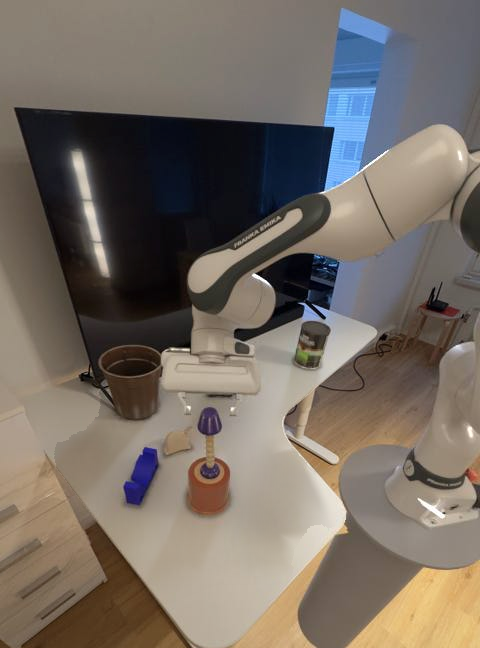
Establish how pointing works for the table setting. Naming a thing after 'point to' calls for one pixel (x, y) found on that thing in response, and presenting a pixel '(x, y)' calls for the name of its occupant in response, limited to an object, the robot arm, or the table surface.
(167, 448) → the decorative ornament
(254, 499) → the table surface
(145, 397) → the plant pot
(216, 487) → the cup
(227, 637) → the table surface
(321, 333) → the coffee can
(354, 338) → the table surface
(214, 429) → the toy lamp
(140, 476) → the blue notched block
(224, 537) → the table surface
